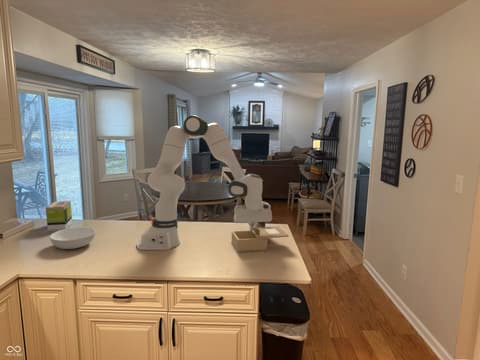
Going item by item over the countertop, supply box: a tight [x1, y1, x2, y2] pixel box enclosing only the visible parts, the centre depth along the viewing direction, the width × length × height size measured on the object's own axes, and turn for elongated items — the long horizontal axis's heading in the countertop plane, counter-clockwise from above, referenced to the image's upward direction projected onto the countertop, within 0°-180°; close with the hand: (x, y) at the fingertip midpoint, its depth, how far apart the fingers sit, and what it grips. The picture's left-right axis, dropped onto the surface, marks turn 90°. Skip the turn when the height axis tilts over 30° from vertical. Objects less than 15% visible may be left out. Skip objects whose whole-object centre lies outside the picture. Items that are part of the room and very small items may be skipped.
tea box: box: [45, 200, 73, 232], centre depth 191 cm, size 15×10×15 cm, turn 14°
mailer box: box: [231, 229, 269, 254], centre depth 168 cm, size 16×14×7 cm
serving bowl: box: [49, 226, 96, 250], centre depth 163 cm, size 21×21×7 cm
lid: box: [251, 226, 290, 239], centre depth 170 cm, size 17×15×3 cm
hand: (252, 229), depth 168 cm, fingers closed
